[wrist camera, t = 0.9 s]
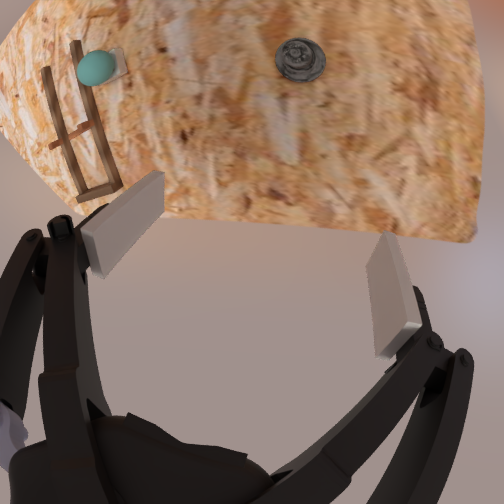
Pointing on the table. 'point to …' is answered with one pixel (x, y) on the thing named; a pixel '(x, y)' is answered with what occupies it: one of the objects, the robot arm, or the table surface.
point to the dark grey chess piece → (300, 60)
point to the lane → (92, 123)
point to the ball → (95, 68)
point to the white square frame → (117, 64)
